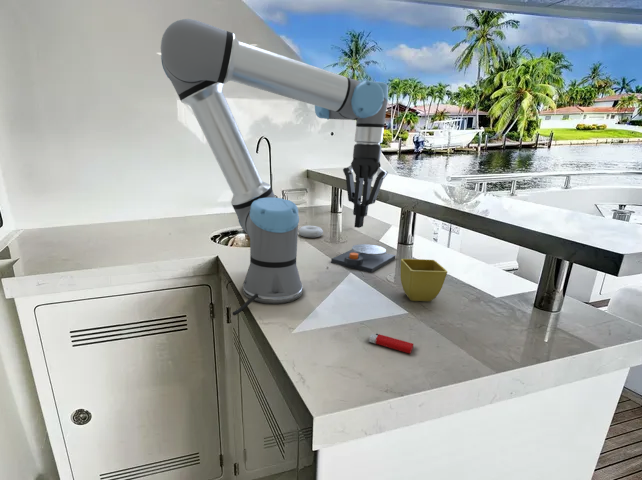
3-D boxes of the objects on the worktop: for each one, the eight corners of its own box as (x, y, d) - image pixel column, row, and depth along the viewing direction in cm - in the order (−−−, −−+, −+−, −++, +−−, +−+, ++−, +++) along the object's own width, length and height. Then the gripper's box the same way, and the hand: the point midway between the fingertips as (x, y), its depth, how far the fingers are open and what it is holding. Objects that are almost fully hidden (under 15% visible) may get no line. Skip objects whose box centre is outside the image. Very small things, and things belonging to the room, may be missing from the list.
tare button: (355, 260, 116) (355, 255, 116) (347, 258, 118) (348, 253, 117) (359, 258, 118) (359, 253, 117) (351, 256, 120) (352, 252, 119)
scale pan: (377, 257, 118) (377, 256, 118) (345, 250, 125) (345, 248, 124) (391, 250, 126) (391, 248, 126) (361, 243, 133) (361, 242, 133)
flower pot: (442, 305, 93) (448, 271, 90) (406, 304, 93) (411, 270, 90) (428, 291, 101) (434, 259, 98) (395, 290, 101) (400, 258, 98)
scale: (369, 274, 113) (370, 264, 112) (328, 263, 121) (329, 254, 120) (395, 259, 127) (396, 250, 126) (357, 250, 135) (358, 242, 134)
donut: (308, 231, 160) (292, 235, 153) (308, 223, 159) (293, 226, 152) (327, 236, 154) (312, 240, 147) (328, 227, 153) (313, 231, 146)
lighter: (410, 349, 71) (368, 337, 75) (409, 354, 71) (368, 342, 75) (413, 342, 73) (373, 331, 77) (412, 348, 74) (372, 336, 78)
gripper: (395, 144, 105) (384, 228, 112) (352, 142, 112) (345, 221, 120) (385, 144, 99) (373, 232, 107) (340, 142, 106) (333, 225, 114)
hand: (358, 226), depth 113 cm, fingers closed
